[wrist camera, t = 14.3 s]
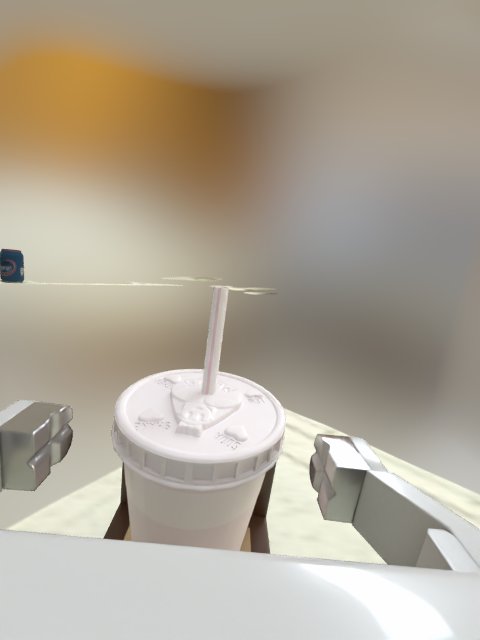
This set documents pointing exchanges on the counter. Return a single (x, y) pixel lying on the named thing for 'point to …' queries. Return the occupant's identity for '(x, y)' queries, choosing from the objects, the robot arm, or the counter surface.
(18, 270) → the soda can
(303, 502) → the counter surface
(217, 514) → the smoothie
